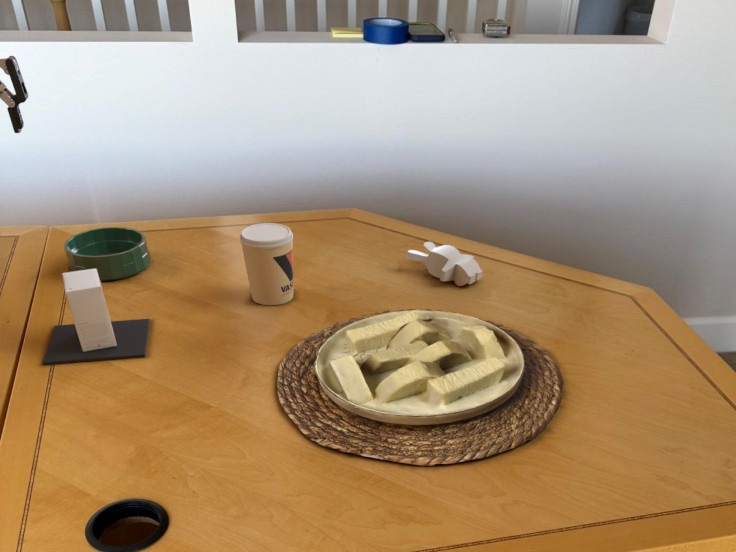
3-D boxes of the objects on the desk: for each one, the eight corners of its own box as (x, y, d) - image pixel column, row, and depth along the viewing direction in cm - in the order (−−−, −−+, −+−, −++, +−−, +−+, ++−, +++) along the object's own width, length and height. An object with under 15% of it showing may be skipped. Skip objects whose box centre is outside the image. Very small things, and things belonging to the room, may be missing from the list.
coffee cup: (290, 309, 140) (284, 243, 132) (241, 305, 141) (232, 239, 133) (303, 287, 147) (298, 223, 139) (256, 284, 148) (248, 220, 140)
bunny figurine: (463, 273, 143) (402, 243, 149) (458, 298, 146) (399, 268, 153) (493, 258, 148) (433, 229, 154) (488, 283, 152) (430, 254, 158)
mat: (43, 365, 125) (42, 362, 124) (55, 328, 134) (54, 325, 134) (145, 357, 127) (144, 354, 127) (149, 321, 137) (149, 318, 136)
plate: (576, 333, 134) (582, 296, 129) (539, 495, 102) (546, 455, 98) (331, 301, 143) (329, 266, 138) (228, 441, 111) (220, 402, 107)
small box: (117, 347, 128) (101, 286, 121) (82, 353, 127) (64, 292, 120) (112, 326, 134) (97, 267, 127) (78, 331, 132) (61, 272, 125)
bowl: (66, 285, 147) (58, 259, 144) (76, 253, 158) (69, 229, 155) (148, 279, 149) (142, 254, 146) (152, 249, 161) (147, 224, 157)
